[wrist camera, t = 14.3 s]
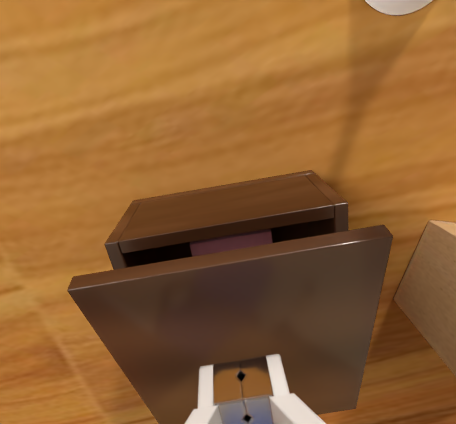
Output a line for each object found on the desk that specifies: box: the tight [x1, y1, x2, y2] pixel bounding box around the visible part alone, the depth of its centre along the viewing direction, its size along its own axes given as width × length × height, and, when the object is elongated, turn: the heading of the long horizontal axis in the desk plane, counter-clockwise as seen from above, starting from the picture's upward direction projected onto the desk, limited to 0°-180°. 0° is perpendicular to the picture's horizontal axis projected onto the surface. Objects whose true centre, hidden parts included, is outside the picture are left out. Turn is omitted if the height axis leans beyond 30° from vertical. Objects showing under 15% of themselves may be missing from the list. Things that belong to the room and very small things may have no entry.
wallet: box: [190, 229, 273, 257], centre depth 25 cm, size 9×6×2 cm, turn 9°
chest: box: [105, 170, 348, 270], centre depth 23 cm, size 16×14×7 cm
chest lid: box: [68, 225, 393, 424], centre depth 18 cm, size 16×14×1 cm
